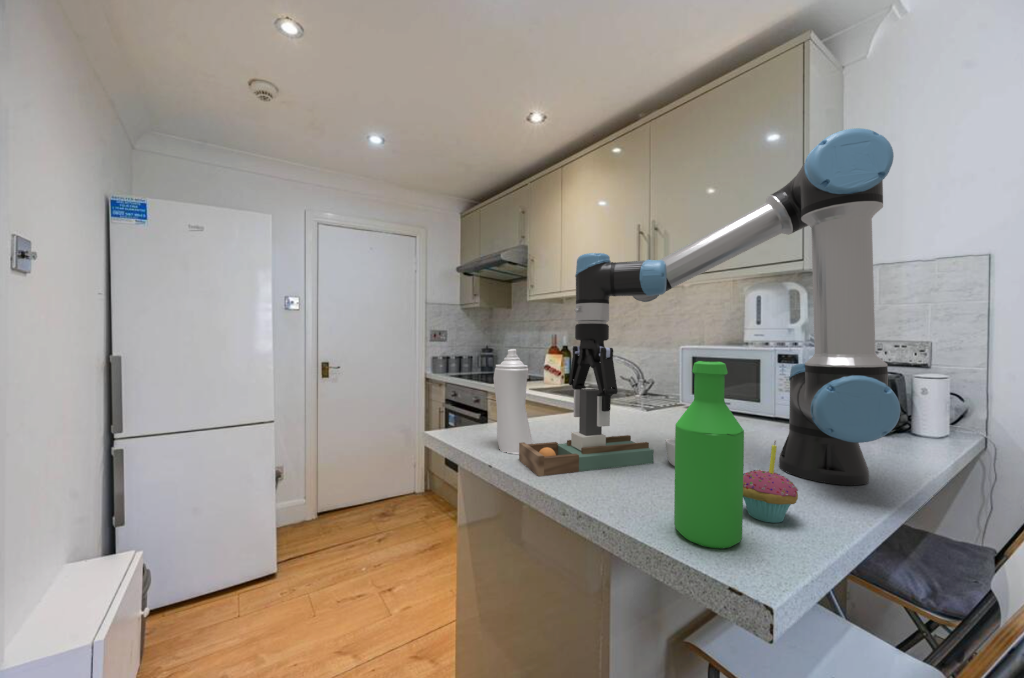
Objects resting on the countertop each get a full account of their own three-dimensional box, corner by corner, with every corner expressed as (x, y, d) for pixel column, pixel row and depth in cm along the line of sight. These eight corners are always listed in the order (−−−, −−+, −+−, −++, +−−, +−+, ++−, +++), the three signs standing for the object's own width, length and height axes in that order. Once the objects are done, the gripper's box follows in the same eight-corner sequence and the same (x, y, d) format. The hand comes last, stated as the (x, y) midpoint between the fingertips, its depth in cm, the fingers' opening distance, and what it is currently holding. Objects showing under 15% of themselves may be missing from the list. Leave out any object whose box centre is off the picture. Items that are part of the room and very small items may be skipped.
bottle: (750, 537, 59) (753, 362, 58) (729, 559, 52) (732, 364, 52) (688, 517, 65) (690, 359, 65) (663, 535, 59) (665, 361, 59)
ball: (555, 470, 88) (561, 452, 89) (539, 466, 87) (545, 447, 87) (548, 465, 92) (553, 447, 92) (532, 460, 91) (538, 443, 91)
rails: (648, 447, 94) (648, 442, 94) (583, 454, 88) (583, 448, 88) (628, 439, 101) (628, 435, 101) (566, 445, 96) (567, 440, 96)
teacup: (665, 469, 88) (666, 444, 88) (664, 459, 95) (664, 436, 95) (717, 475, 85) (717, 449, 85) (711, 464, 92) (712, 440, 92)
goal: (578, 471, 86) (579, 452, 86) (538, 476, 83) (538, 456, 83) (555, 456, 97) (555, 439, 97) (519, 460, 94) (519, 442, 93)
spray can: (482, 450, 101) (484, 349, 101) (500, 440, 111) (501, 348, 111) (526, 456, 97) (528, 350, 97) (541, 445, 107) (542, 349, 107)
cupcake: (756, 502, 71) (757, 433, 71) (810, 522, 63) (811, 445, 63) (724, 511, 67) (725, 438, 67) (777, 534, 60) (779, 451, 59)
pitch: (653, 463, 92) (653, 449, 92) (578, 471, 86) (578, 457, 86) (624, 450, 103) (624, 438, 103) (555, 456, 96) (555, 444, 96)
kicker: (605, 448, 92) (606, 390, 92) (581, 451, 90) (582, 391, 90) (594, 443, 96) (594, 388, 96) (571, 445, 94) (571, 388, 94)
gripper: (555, 323, 102) (554, 413, 103) (604, 321, 81) (603, 433, 81) (582, 324, 105) (581, 411, 105) (636, 322, 84) (635, 430, 84)
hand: (590, 421), depth 93 cm, fingers open, 10 cm apart
